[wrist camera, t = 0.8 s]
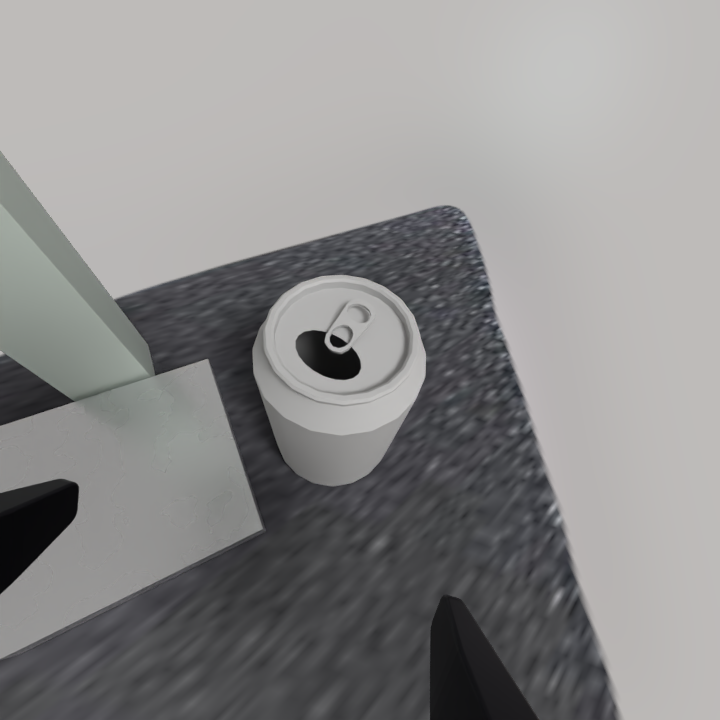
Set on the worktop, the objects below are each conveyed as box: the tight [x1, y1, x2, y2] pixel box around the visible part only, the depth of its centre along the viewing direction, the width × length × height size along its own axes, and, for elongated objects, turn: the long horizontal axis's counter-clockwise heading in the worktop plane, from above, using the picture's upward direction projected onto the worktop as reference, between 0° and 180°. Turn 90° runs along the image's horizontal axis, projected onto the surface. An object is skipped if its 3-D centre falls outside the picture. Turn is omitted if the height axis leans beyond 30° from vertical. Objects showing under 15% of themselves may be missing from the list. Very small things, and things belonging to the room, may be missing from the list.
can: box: [253, 275, 426, 486], centre depth 19 cm, size 8×8×12 cm
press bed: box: [0, 359, 266, 660], centre depth 20 cm, size 12×12×2 cm
